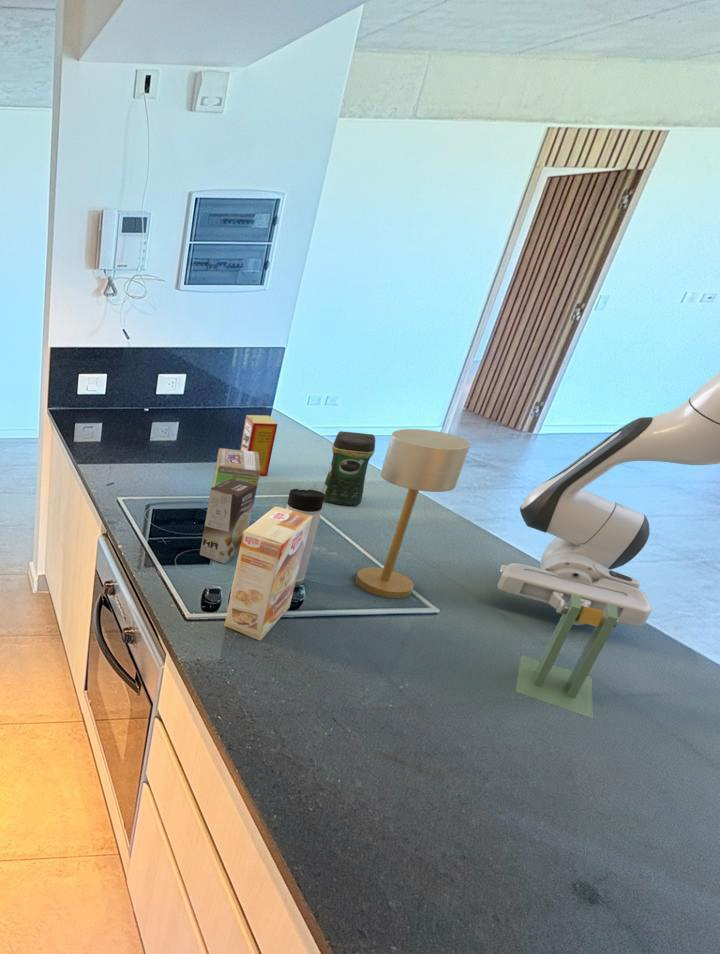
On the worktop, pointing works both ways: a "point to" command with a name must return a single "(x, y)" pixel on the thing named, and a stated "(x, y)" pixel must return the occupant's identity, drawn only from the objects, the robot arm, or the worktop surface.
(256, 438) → the baking soda box
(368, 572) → the table lamp
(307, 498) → the travel mug
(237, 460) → the tea box
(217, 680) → the worktop surface
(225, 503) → the coffee box
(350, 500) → the coffee jar
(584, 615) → the lever
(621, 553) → the robot arm
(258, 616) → the coffeecake box
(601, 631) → the green post frame stand
